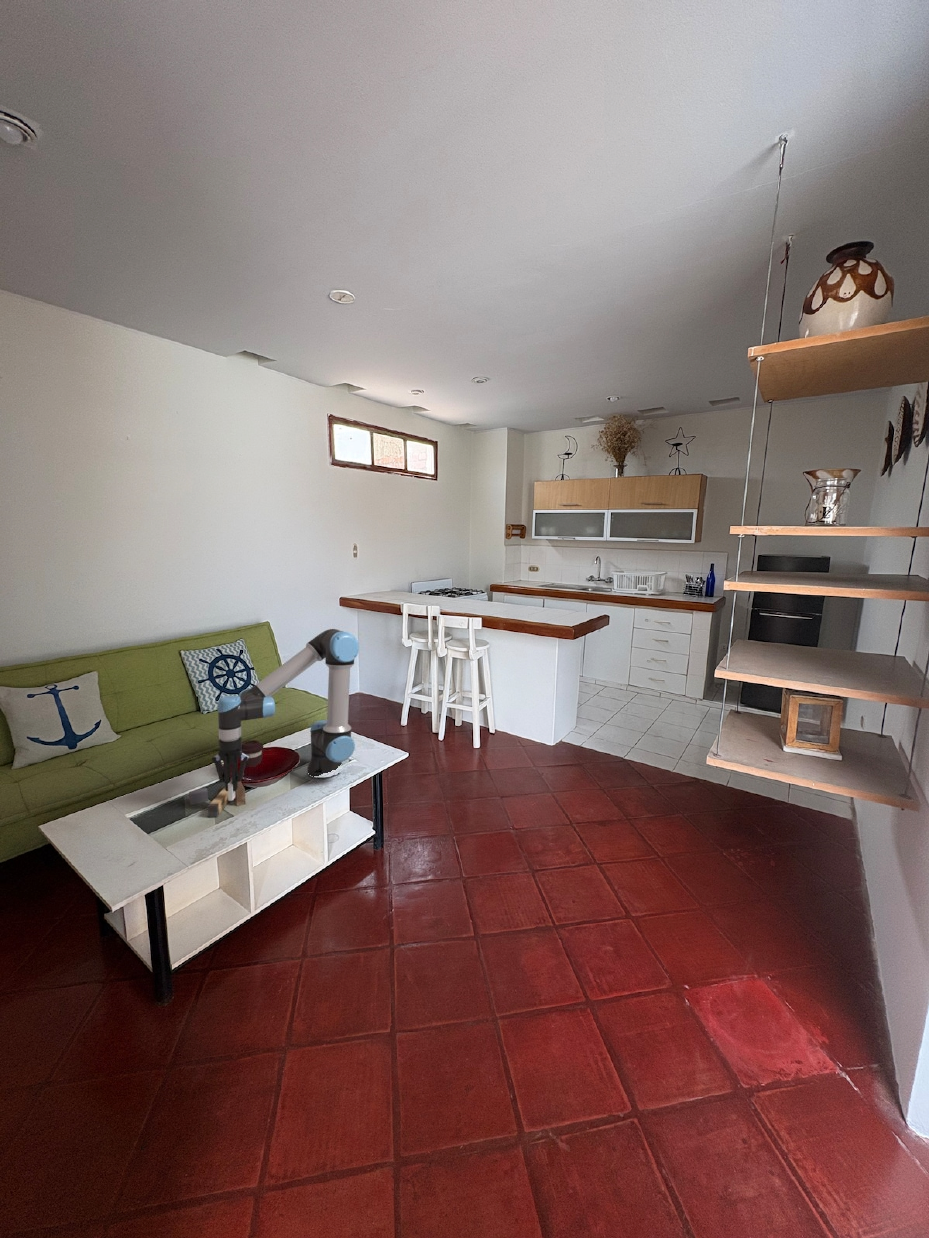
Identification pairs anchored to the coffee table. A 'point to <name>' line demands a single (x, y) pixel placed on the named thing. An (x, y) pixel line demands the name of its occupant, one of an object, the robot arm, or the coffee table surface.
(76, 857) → the coffee table surface
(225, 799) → the folding leg
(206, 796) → the leg rest
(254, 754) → the coffee cup
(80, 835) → the coffee table surface
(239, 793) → the curved wooden block
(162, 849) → the coffee table surface
